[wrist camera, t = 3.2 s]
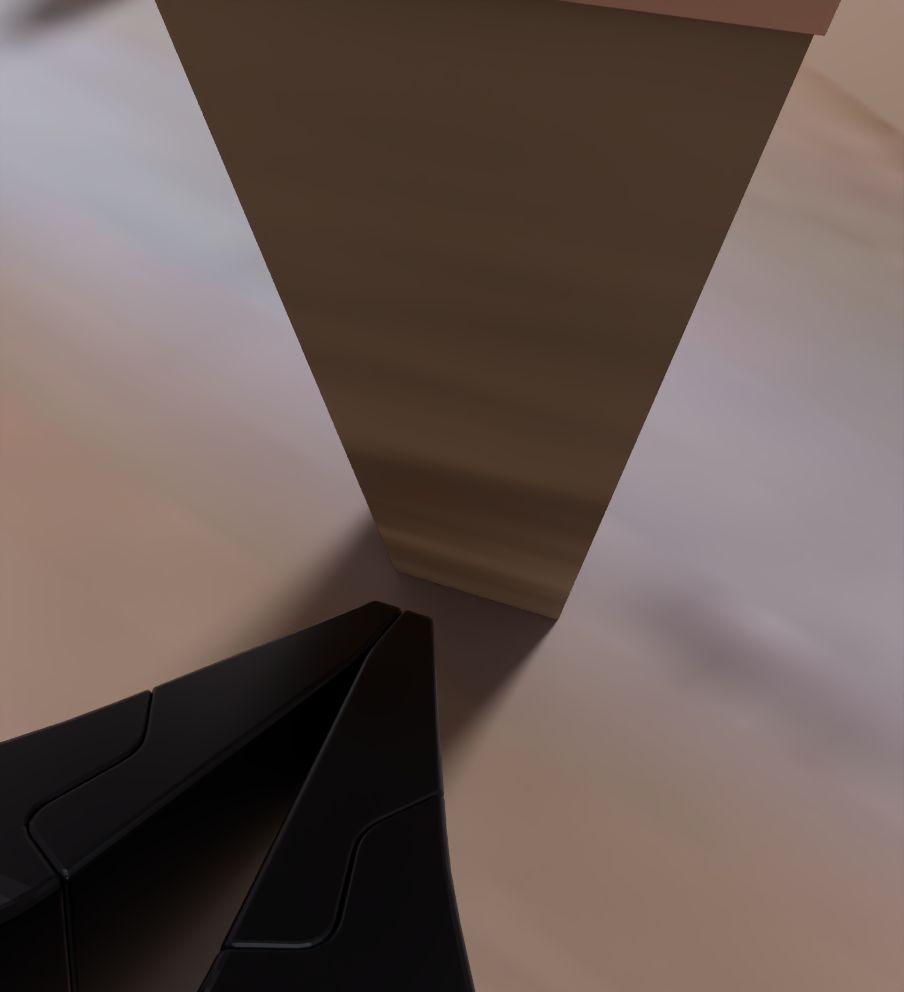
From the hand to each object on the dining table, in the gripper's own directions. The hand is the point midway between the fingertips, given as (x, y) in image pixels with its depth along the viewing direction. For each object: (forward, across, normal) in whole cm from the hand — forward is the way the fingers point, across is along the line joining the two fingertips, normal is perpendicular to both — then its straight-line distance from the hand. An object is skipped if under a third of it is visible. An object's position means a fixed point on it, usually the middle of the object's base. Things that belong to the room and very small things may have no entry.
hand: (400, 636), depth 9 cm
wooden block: (+9, 0, +2) cm, 9 cm away
